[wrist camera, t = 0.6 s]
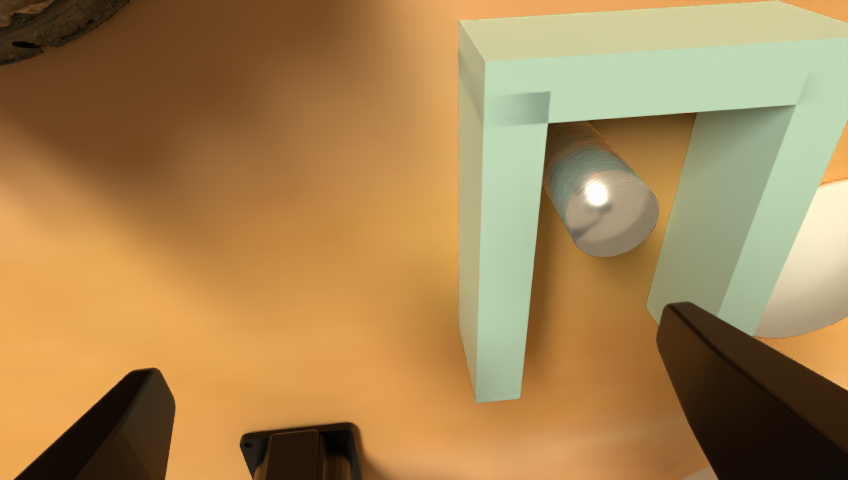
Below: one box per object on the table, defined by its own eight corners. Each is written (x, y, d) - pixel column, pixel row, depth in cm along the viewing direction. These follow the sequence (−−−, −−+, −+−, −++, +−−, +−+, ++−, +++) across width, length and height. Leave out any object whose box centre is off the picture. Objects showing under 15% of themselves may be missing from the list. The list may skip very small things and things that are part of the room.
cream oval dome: (862, 324, 31) (868, 328, 31) (695, 341, 30) (699, 346, 30) (954, 168, 25) (962, 172, 25) (750, 185, 25) (755, 190, 24)
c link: (458, 20, 19) (485, 61, 15) (777, 0, 20) (885, 35, 16) (458, 324, 28) (475, 403, 24) (682, 303, 29) (735, 375, 25)
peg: (594, 179, 24) (649, 253, 19) (526, 185, 23) (566, 260, 19) (604, 114, 22) (667, 178, 17) (532, 120, 22) (577, 186, 17)
